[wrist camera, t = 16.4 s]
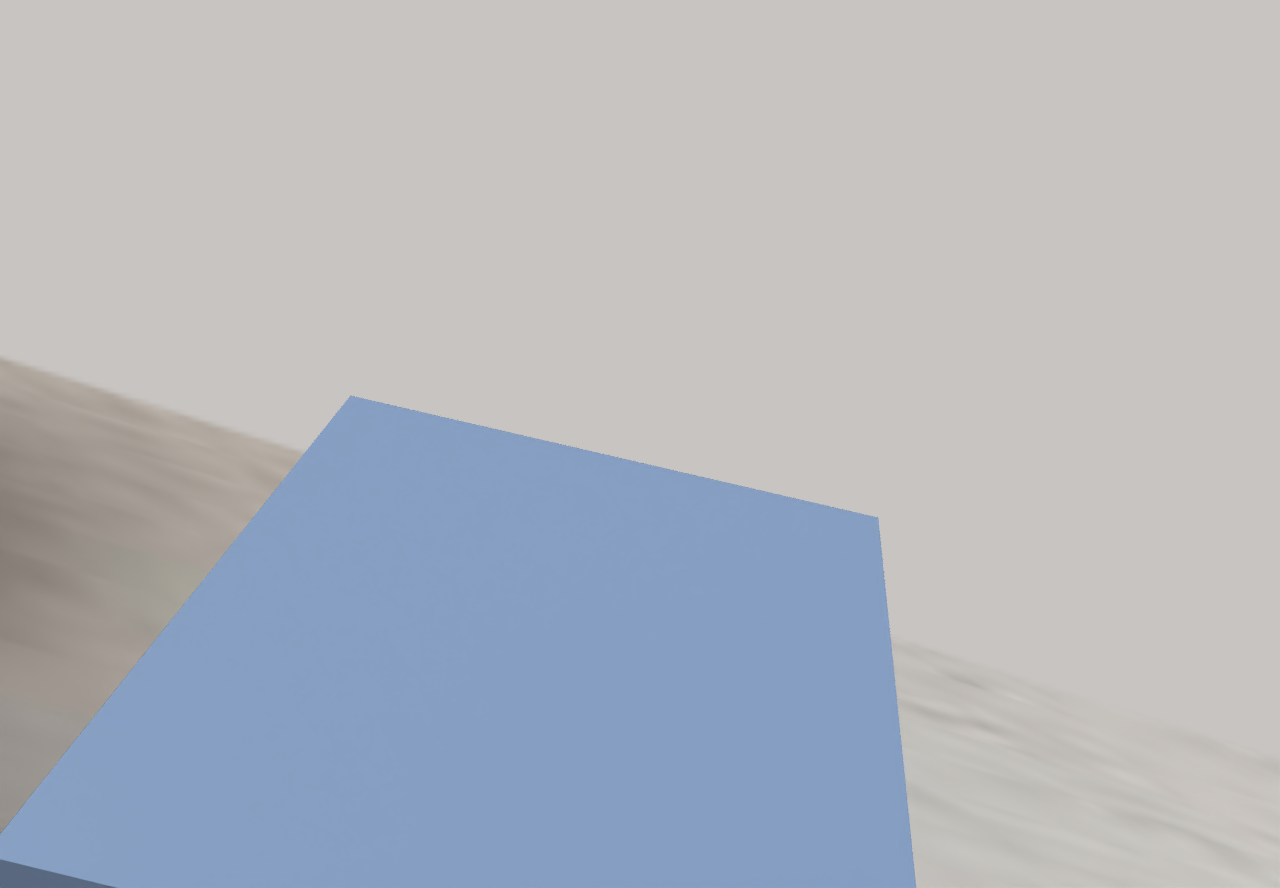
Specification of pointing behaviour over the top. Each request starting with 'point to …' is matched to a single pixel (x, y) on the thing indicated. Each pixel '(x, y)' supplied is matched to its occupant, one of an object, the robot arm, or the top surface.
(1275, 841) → the top surface
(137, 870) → the blue block
